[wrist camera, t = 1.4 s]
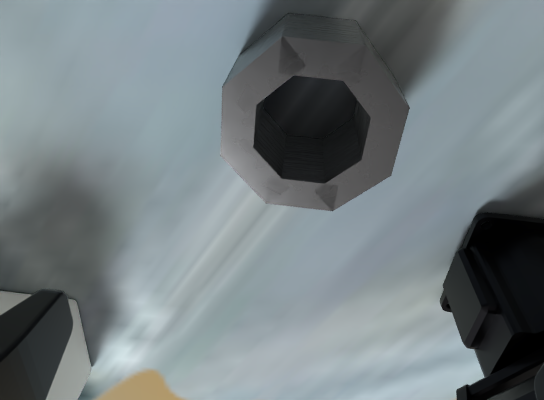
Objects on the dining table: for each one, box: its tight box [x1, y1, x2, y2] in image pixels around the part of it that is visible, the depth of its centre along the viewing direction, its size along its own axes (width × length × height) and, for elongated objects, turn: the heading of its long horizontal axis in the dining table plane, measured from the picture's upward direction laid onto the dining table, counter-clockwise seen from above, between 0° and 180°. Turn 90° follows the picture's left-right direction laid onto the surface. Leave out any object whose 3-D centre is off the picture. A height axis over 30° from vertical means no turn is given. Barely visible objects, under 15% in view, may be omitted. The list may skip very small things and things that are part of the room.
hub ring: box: [220, 13, 410, 211], centre depth 17 cm, size 6×6×4 cm
